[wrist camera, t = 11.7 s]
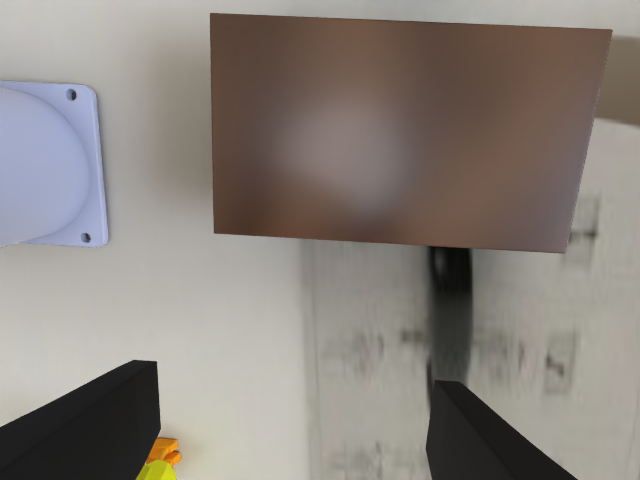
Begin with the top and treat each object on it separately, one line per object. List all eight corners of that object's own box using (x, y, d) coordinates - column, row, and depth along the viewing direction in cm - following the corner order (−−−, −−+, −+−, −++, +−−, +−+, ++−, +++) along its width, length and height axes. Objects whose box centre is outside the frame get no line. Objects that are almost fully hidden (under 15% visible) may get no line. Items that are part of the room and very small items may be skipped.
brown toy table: (240, 216, 19) (213, 233, 15) (240, 48, 17) (209, 12, 13) (512, 231, 18) (566, 253, 14) (542, 61, 17) (613, 28, 12)
